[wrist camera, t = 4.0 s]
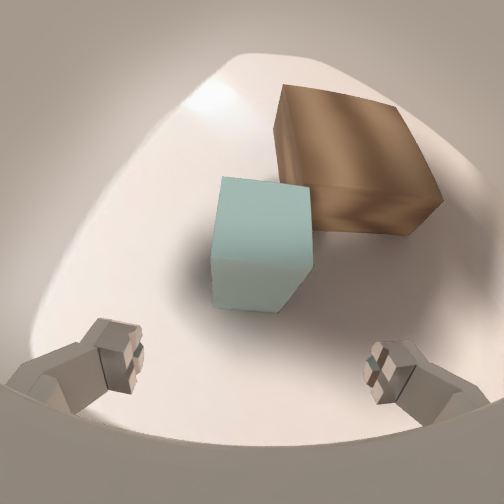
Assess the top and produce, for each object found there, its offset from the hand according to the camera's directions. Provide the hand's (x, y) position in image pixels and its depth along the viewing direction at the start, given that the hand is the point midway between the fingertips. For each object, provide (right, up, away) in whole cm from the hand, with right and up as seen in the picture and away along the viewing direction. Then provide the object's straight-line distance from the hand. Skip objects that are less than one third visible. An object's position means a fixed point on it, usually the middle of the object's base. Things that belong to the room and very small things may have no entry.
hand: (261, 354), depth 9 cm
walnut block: (+8, +10, +17) cm, 21 cm away
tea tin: (-1, +1, +11) cm, 11 cm away
